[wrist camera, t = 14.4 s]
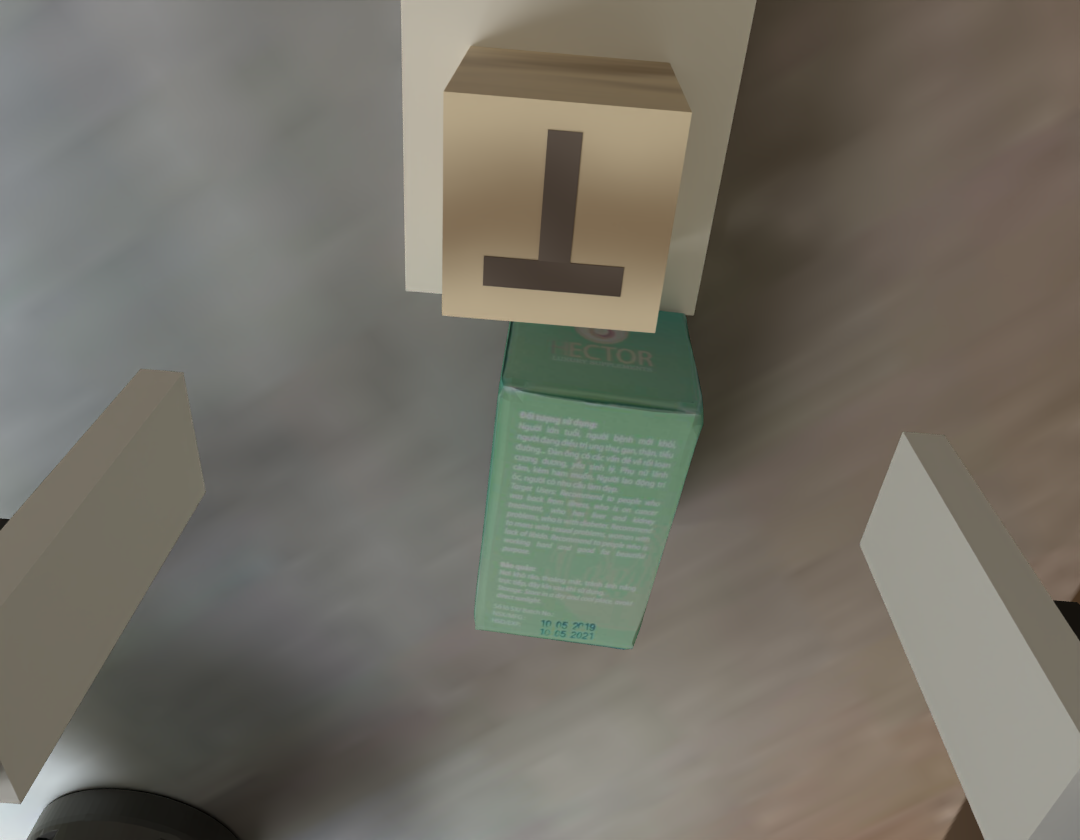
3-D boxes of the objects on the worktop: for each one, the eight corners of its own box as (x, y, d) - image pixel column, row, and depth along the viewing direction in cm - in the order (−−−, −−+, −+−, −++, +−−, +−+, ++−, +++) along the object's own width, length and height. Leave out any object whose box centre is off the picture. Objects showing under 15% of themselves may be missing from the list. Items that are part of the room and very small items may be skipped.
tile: (409, 282, 35) (405, 290, 34) (404, -40, 28) (400, -38, 28) (691, 307, 35) (693, 315, 35) (753, -9, 29) (757, -6, 28)
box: (691, 302, 34) (710, 412, 28) (631, 532, 42) (637, 655, 36) (513, 279, 34) (495, 385, 28) (488, 515, 42) (470, 636, 36)
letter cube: (470, 45, 29) (443, 91, 23) (669, 62, 29) (692, 112, 23) (466, 235, 33) (442, 315, 27) (641, 250, 33) (655, 333, 27)
